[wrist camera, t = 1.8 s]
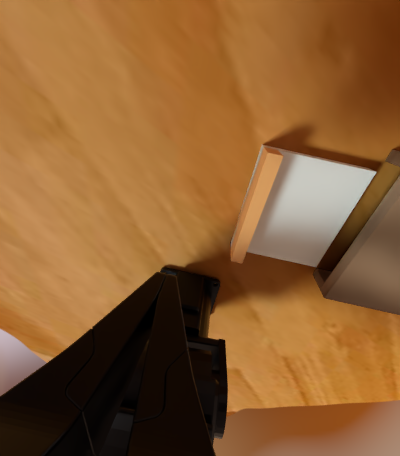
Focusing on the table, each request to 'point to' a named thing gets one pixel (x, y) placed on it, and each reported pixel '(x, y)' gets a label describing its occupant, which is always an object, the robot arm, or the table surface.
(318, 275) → the taupe rectangular slab
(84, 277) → the table surface
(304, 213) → the plate
